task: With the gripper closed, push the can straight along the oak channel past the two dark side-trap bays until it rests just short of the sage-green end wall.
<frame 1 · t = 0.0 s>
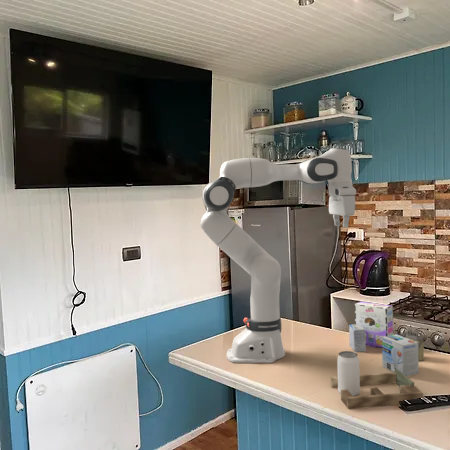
hand: (341, 226, 179), 48 cm above the table, fingers open, 8 cm apart
light bulb box: (400, 370, 159), on the table
medicine box: (357, 349, 182), on the table
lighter: (414, 358, 169), on the table
trap box: (371, 390, 143), on the table
can: (349, 393, 143), on the table
candy box: (374, 345, 186), on the table
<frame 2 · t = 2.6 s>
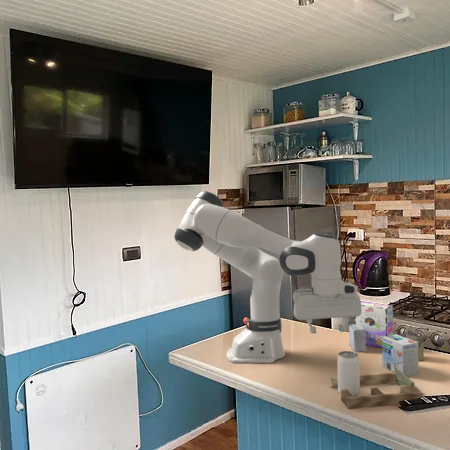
hand: (327, 332, 141), 19 cm above the table, fingers open, 8 cm apart
nothing on the table moved.
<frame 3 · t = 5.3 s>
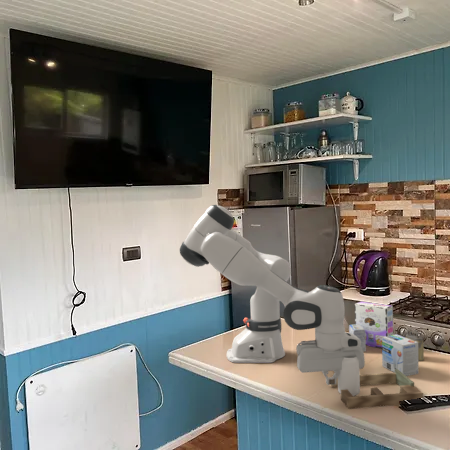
hand: (331, 383, 142), 3 cm above the table, fingers closed
can: (349, 393, 143), on the table, touching gripper
everything else where it was.
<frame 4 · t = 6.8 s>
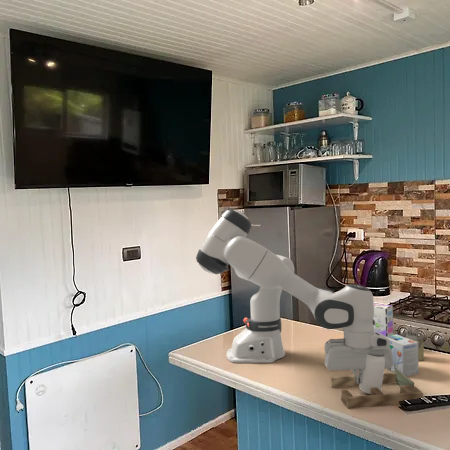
hand: (358, 382, 142), 3 cm above the table, fingers closed, pressing on can
can: (369, 391, 142), on the table, touching gripper
everything else where it was.
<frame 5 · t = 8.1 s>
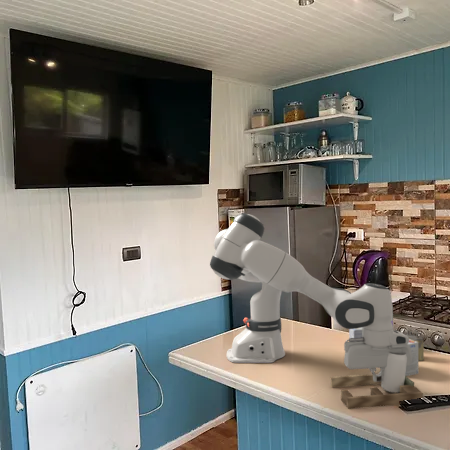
hand: (378, 380, 143), 3 cm above the table, fingers closed
can: (392, 389, 143), on the table, touching gripper, trap box
everything else where it was.
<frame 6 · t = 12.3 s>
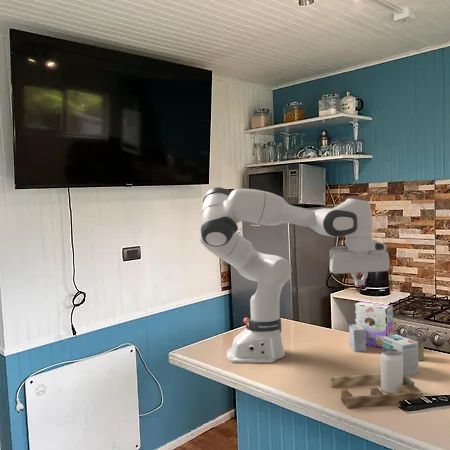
hand: (359, 285, 160), 29 cm above the table, fingers closed
can: (392, 390, 143), on the table
everything else where it was.
at the end: can inside the target area (1.0 cm from its centre), on the table; can tilted 1° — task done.
